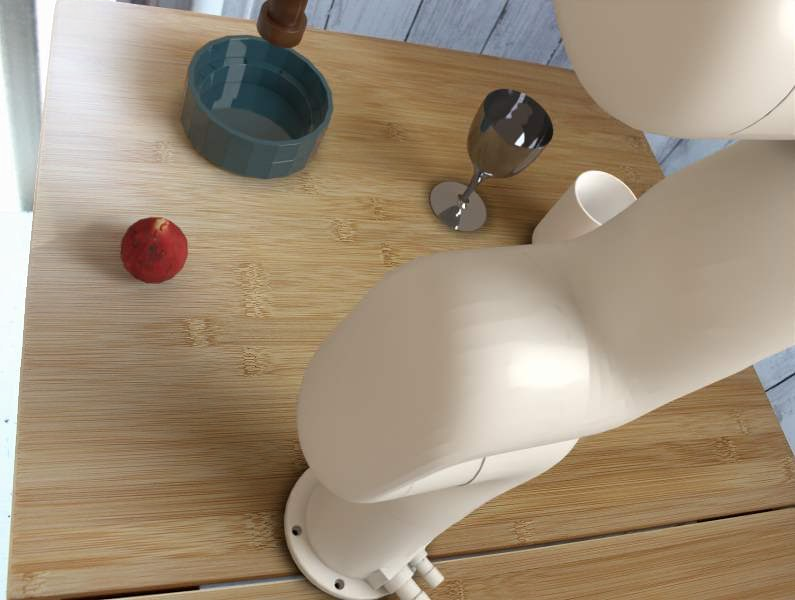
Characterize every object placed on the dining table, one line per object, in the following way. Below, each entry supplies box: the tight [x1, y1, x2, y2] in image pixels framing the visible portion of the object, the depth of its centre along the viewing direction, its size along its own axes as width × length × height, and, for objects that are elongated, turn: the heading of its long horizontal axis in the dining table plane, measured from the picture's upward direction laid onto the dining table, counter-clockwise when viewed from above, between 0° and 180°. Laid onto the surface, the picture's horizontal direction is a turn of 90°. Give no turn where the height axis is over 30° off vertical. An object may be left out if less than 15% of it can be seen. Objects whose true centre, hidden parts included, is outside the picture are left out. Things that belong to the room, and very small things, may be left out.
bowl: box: [179, 34, 334, 180], centre depth 89 cm, size 15×15×6 cm
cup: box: [531, 169, 638, 244], centre depth 95 cm, size 8×12×10 cm
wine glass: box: [429, 88, 554, 233], centre depth 90 cm, size 8×8×15 cm
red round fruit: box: [119, 216, 189, 284], centre depth 74 cm, size 6×6×8 cm
